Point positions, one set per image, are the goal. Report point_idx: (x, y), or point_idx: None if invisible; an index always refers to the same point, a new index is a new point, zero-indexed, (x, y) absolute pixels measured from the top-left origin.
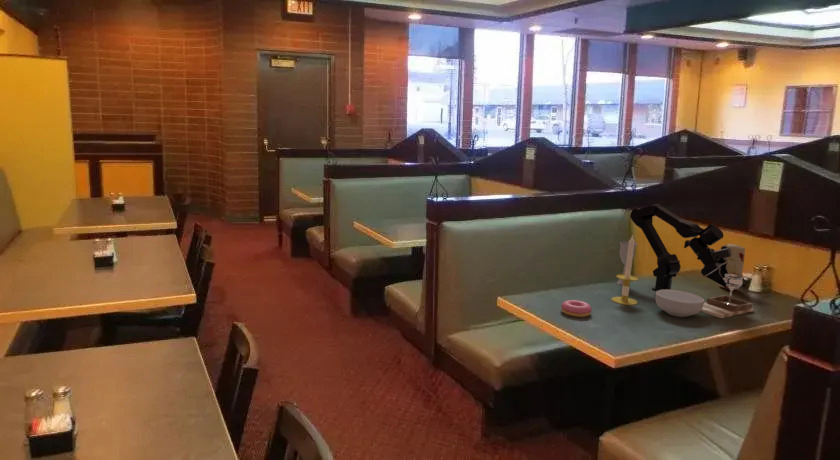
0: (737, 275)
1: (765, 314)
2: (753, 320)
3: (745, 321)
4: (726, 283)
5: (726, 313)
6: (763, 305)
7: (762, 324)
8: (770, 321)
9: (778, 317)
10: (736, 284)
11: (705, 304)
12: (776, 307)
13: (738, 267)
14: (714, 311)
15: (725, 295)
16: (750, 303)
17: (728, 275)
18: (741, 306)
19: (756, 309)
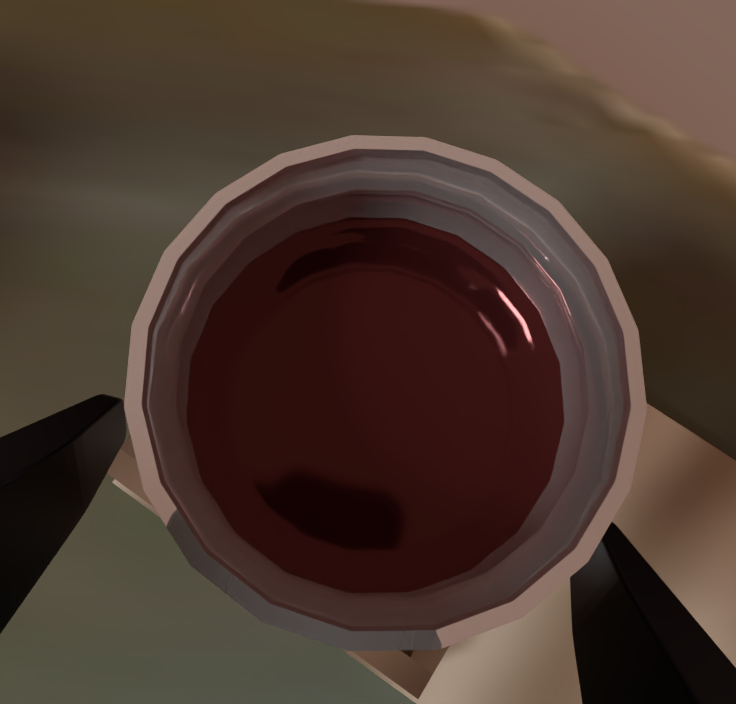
0: (174, 259)
1: (374, 120)
2: (645, 233)
3: (727, 300)
4: (511, 522)
5: (696, 460)
6: (52, 102)
7: (715, 176)
8: (576, 107)
9: (403, 35)
10: (545, 328)
11: (481, 683)
12: (64, 8)
13: None
14: (709, 582)
15: (122, 458)
16: None
17: (199, 499)
18: None
19: (243, 175)
